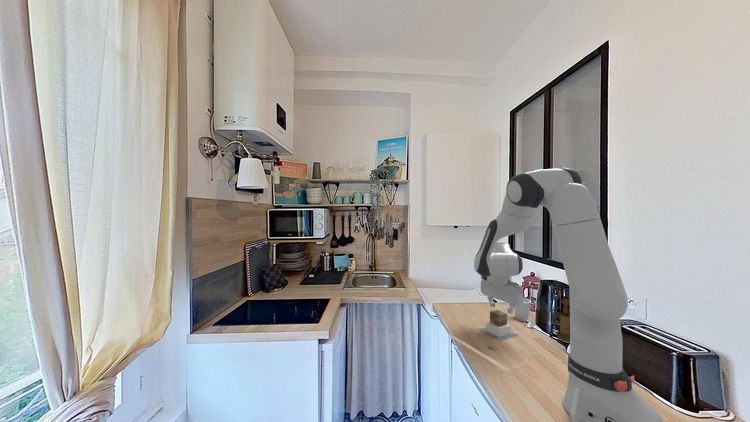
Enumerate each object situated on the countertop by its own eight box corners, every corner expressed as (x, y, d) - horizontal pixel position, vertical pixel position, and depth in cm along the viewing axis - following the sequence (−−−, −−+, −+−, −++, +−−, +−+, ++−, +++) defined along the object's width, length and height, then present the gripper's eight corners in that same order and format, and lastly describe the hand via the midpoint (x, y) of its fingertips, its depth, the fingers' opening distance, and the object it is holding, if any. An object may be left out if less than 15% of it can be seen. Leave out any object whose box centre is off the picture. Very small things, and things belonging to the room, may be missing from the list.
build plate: (519, 337, 117) (519, 335, 117) (500, 343, 111) (500, 341, 111) (496, 327, 128) (496, 324, 128) (477, 331, 122) (477, 329, 122)
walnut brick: (506, 324, 118) (507, 313, 118) (499, 326, 116) (499, 315, 116) (497, 320, 123) (497, 309, 123) (489, 322, 121) (489, 311, 121)
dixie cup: (515, 321, 134) (515, 301, 134) (510, 315, 142) (510, 296, 142) (533, 323, 132) (533, 303, 132) (528, 316, 140) (528, 297, 140)
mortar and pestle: (568, 345, 111) (568, 301, 111) (552, 338, 117) (553, 297, 117) (578, 342, 113) (578, 300, 113) (562, 335, 119) (563, 295, 119)
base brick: (510, 334, 118) (510, 325, 118) (499, 337, 115) (499, 328, 115) (496, 327, 124) (497, 319, 124) (486, 330, 121) (486, 322, 121)
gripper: (526, 282, 111) (527, 316, 111) (487, 273, 130) (488, 302, 130) (516, 284, 109) (517, 318, 108) (477, 274, 127) (478, 304, 127)
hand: (501, 309), depth 119 cm, fingers open, 8 cm apart
